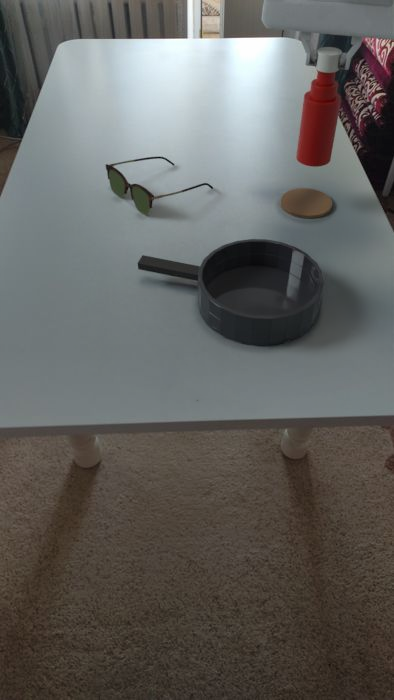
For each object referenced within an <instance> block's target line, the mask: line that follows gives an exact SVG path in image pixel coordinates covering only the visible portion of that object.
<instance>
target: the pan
mask: <svg viewBox="0 0 394 700" xmlns="http://www.w3.org/2000/svg"><path fill="white" fill-rule="evenodd" d="M199 266H200V268H199V271H198V281H197V304H198V311H199V313H200V315H201V317H202V320H204V323H206V324H207V325H208V327H210V329H212V330H213V331H214V332H216V333H217V334H219V335H220V336H222V337H224V338H226V339H228V340H231V341H233V342H235V343H239V344H244V345H250V346H274V345H275V346H276V345H281V344H285V343H288V342H290V341H293V340H295V339H297V338H300V336H302V335H304V334H305V333H306V332H307V331H308V330H310V329H311V327H312V326H313V325H314V323H315V322H316V320H317V318H318V314H319V309H320V305H321V301H322V295H323V291H324V286H325V278H324V274H323V271H322V269H321V267H320V266H319V264H318V262H317V261H316V260H315V259H314V258H312V256H311V255H309V254H308V253H307V252H305V251H303V250H302V249H300V248H298V247H296V246H294V245H292V244H288V243H285V242H283V241H278V240H273V239H266V238H248V239H242V240H235V241H232V242H228V243H226V244H223V245H221V246H219V247H217V248H216V249H214V250H211V252H209V254H208V255H206V257H204V258H203V260H202V262H201V264H200V265H199Z"/></svg>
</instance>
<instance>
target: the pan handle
mask: <svg viewBox="0 0 394 700" xmlns="http://www.w3.org/2000/svg"><path fill="white" fill-rule="evenodd" d="M200 266H201V265H195V264H190V263H186V262H180V261H175V260H170V259H164V258H159V257H155V256H150V255H149V256H148V255H143V254H142V255H141V257H140V258H139V260H138V261H137V269H138V270H140V271H145V272H150V273H155V274H159V275H165V276H171V277H175V278H180V279H185V280H191V281H195V282H198V271H199V268H200Z"/></svg>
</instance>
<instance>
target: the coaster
mask: <svg viewBox="0 0 394 700" xmlns="http://www.w3.org/2000/svg"><path fill="white" fill-rule="evenodd" d="M279 203H280V207H281V208H282V210H283V211H284V212H286V213H287V214H289V215H291V216H293V217H296V218H300V219H318V218H322V217H325V216H327V215H328V214H329V213H330V212H331V210H332V208H333V201H332V198H331V197H330V196H329V195H328V194H326V193H325V192H323V191H320V190H318V189H314V188H309V187H308V188H307V187H299V188H293V189H290V190H288V191H286V192H284V194H282V195H281V197H280V202H279Z"/></svg>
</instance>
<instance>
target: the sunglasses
mask: <svg viewBox="0 0 394 700" xmlns="http://www.w3.org/2000/svg"><path fill="white" fill-rule="evenodd" d="M156 159H157V160H158V159H160V160H162V159H163V160H164V161H166V162H167V163H169V164H170V165H172V166H173V167H174V166H175V163H174V162H172V161H171V160H169V159H168V158H166V157H164V156H147V157H142V158H141V157H140V158H136V159H130V160H124V161H120V162H115V163H109V164H107V163H106V164H105V169H106V174H107V179H108V181H109V185H110V189H111V191H112V192H113V194H114V195H116V196H117V197H118V198H121V199H122V198H124V197H125V196H126V194H127V193H128V190H129V191H130V192H129V193H130V197H131V199H132V200H133V203H134V206H135V208H136V209H137V211H138V212H139V213H141V215H145V216H148V215H149V214H150V211H151V209H152V208H153V201H154V200H157V199H161V198H164V197H169V196H174V195H178V194H181V193H184V192H188V191H191V190H194V189H197V188H201V187H203V186H208V187H209V188H210V189H211V190H213V189H214V186H213V185H211V184H210V183H208V182H203V183H200V184H196V185H193V186H190V187H188V188H185V189H182V190H178V191H175V192H171V193H166V194H160V195H156V196H155V195H154V194H153V193H152V192H151V191H150V190H149V189H147V188H145V187H144V186H143V185H141V184H139V183H132V184H131V183H129V181H128V180H127V178H126V177H125V176H124V174H123V173H122V172H121V171H120V170H119V169H117V168H116V167H115V166H118V165H122V164H127V163H129V164H130V163H135V162H142V161H148V160H156Z"/></svg>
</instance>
